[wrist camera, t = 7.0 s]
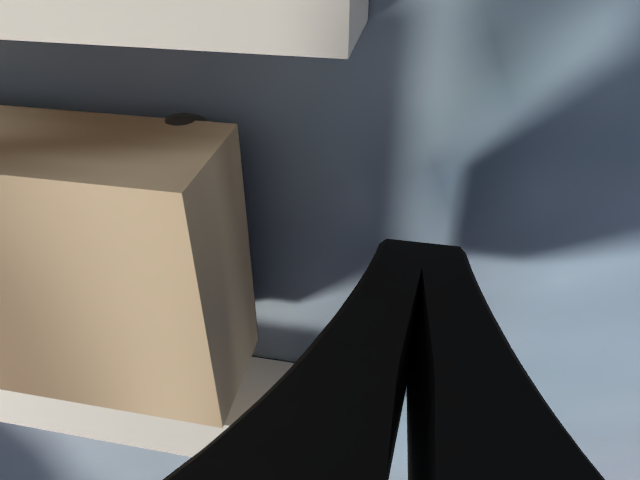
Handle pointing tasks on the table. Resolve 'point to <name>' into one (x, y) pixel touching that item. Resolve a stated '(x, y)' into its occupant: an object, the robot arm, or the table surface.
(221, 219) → the tan block
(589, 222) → the table surface
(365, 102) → the table surface
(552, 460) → the robot arm
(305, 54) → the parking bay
